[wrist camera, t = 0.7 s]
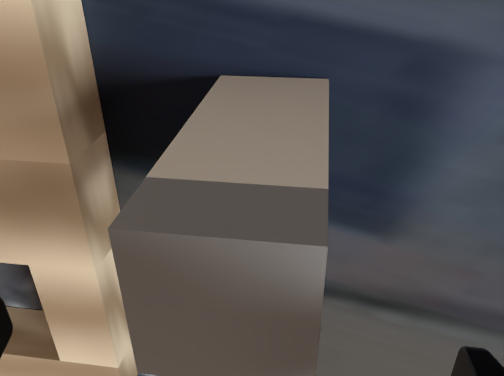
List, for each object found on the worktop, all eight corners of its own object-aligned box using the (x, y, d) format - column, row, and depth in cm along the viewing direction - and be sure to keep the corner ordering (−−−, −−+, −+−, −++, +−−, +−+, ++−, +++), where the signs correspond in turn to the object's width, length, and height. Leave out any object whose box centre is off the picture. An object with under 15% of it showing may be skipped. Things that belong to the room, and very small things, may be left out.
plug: (321, 176, 18) (313, 395, 10) (224, 170, 19) (137, 372, 10) (329, 79, 16) (328, 246, 8) (220, 75, 17) (107, 228, 8)
